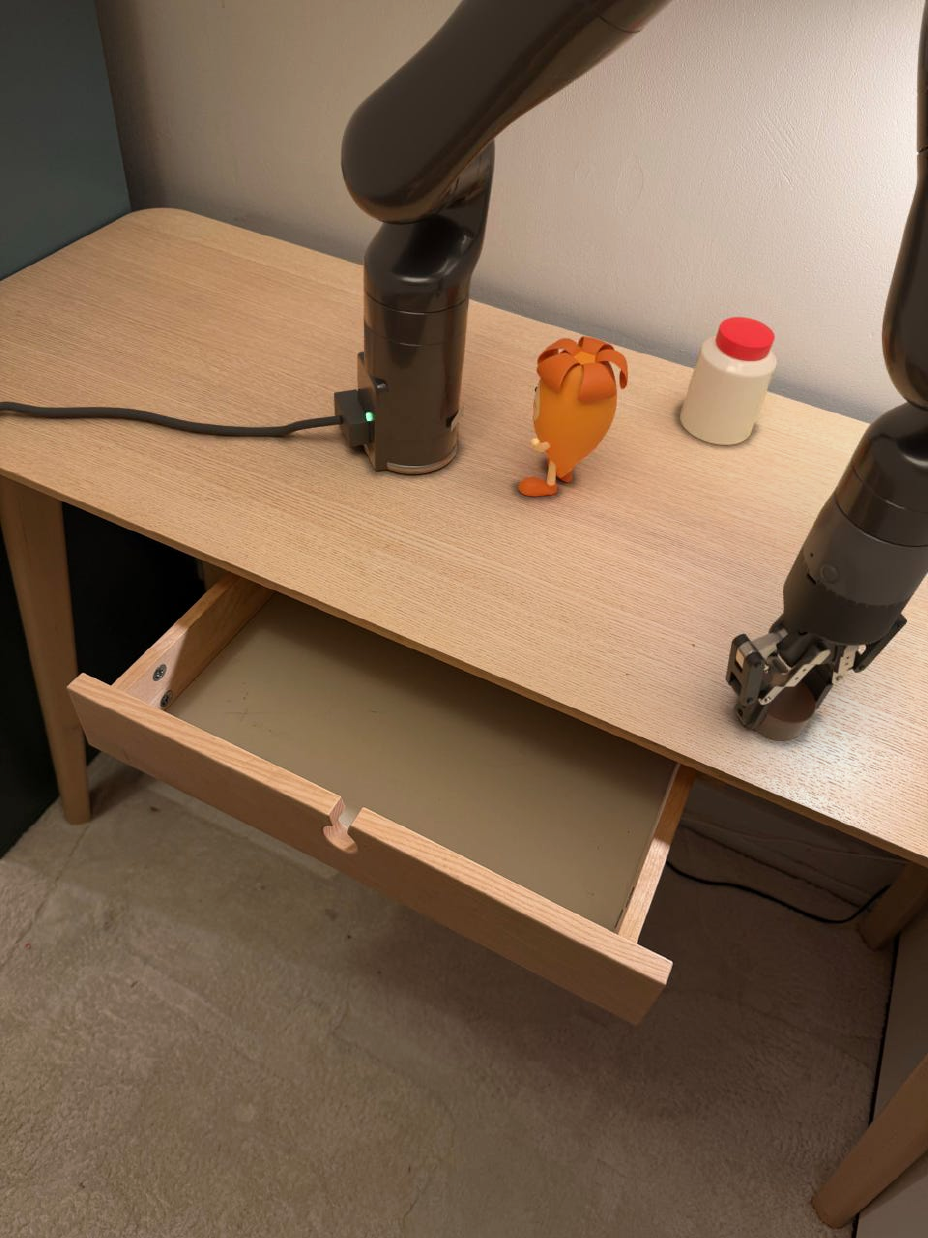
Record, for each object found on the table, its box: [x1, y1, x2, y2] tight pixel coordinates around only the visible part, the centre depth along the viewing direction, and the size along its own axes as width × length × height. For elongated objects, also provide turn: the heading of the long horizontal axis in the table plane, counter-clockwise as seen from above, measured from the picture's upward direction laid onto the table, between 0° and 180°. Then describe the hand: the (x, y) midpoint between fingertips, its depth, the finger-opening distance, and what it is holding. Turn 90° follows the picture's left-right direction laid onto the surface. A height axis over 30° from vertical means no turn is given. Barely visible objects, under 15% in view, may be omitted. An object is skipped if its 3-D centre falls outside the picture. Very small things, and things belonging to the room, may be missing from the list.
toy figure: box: [518, 335, 629, 497], centre depth 83 cm, size 12×8×15 cm, turn 143°
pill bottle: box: [679, 316, 778, 446], centre depth 94 cm, size 8×8×11 cm
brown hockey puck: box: [753, 671, 816, 741], centre depth 72 cm, size 5×5×2 cm
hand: (775, 710), depth 72 cm, fingers closed on brown hockey puck, 5 cm apart
